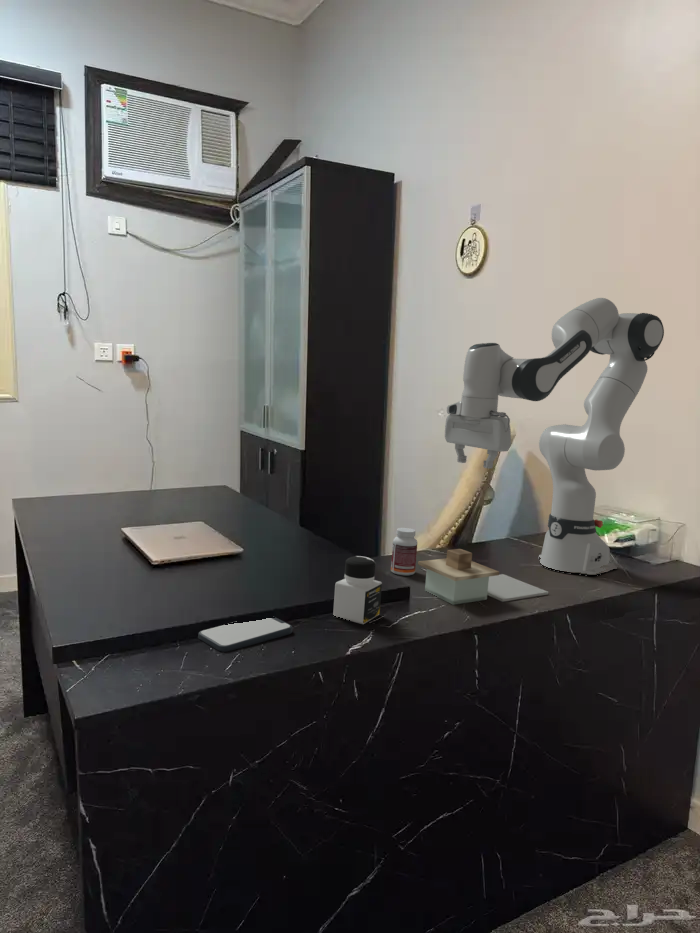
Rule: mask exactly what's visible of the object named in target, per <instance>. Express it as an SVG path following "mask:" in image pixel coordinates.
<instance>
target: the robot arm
mask: <svg viewBox="0 0 700 933" xmlns="http://www.w3.org/2000/svg"><path fill="white" fill-rule="evenodd" d="M664 334H665V328H664V324H663V322H662V320H661V318H660V317H658V315H655V314H652V313H647V312H640V313H636V312H635V313H634V312H632V313H630V312H629V313H627V312H626V313H619V310H618V308H617V306H616V304H615V303H614V302H613V301H611V300H610V299H608V298H606V297H605V298H604V297H596V298H594V299H592V300H591V299H590V300H588V301H586V302H584V303H581V304H579V305H578V306H577V307H573V309H572V310H570V311H568V312H566V313H565V314H563V316H561V317H560V318H559V319H558V320H557V321H556V322H555V323H553V325H552V329H551V340H552V343H553V346H554V350H552V351H551V352H549V353H548V355H546V356H543V357H538V358H514V357H513V356H511V355H509V354H508V353H507V352H505V351H504V350H503V349H502V348H501V346H500V344H499V343H497V342H486V343H483V342H482V343H476V344H474V345H471V346H470V347H469V348H468V350H467V352H466V355H465V360H464V365H463V373H462V374H463V375H462V376H463V377H462V380H463V391H462V394H461V400H459V401H457V402H455V403H451V404H450V405H447V407H446V414H448V415H447V417H446V420H445V425H444V438H445V441H446V443H449V444H454V450H455V452H456V455H457V459H456V460H457V462H458V463H461V464H465V463H467V458H468V455H465V451H464V450H465V449H466V447H472V448H475V449H476V448H478V449H482V450H487V452H486V454H487V457H486V459H485V460H483V464H482V466H483V468H485V469H493V468H494V466H493V465H494V461H495V460H496V458H497V456H498V452H500V453H501V452H508V451H509V450H510V448H511V445H512V442H511V441H512V436H511V435H512V434H511V433H512V431H511V424H510V423H511V418H509V416H508V414H507V413H506V412H505V411H500V412H499V411H498V406H499V397H503V398H504V397H505V398H511V399H512V398H513V399H520V400H521V399H523V400H527V401H531V402H540V401H543V400H544V399H546V398H547V397H548V396H550V395H551V394H552V392H553V390H554V389H555V387H556V386H557V385H558V383H559V381H561V379H563V377H564V376H566V375H567V374H568V373H569V372H570V371H571V370H572V369H573V368H574V367H576V366H577V365H578V364H579V363H580V362H581V361H582V360H583V359H584V358H585V357H586V356H587V355H588V354H589V353H590V352H592V353H594V354H597V355H602V356H603V355H609V361H608V363H607V366H606V367H605V368H604V370H603V371H602V373H601V374H600V376H599V377H598V378H597V380H596V381H595V383H594V385H593V386H592V388H591V390H590V391H589V393H588V394H587V396H586V397H585V398H584V402H583V407H584V410H585V413H586V414H587V419H586V421H585V423H584V424H583V425H582V426H580V425H573V424H572V425H571V424H566V423H565V424H558V425H550V426H548V427H546V428H545V429H544V430H543V431H542V433H541V434H540V437H539V442H538V448H539V451H540V453H541V455H542V456H543V457H544V459H545V460H546V462H547V465H548V466H549V470H550V475H551V479H552V500H551V510H550V511H551V512H550V514H549V515H548V519H547V527H548V530H547V531H546V532H545V535H544V541H543V546H542V549H541V553H540V554H539V555H538V558H539V557H540V558H541V559H540V560H539V561H540V563H541V564H542V565H544V566H546V567H548V568H552V569H555V570H560V571H567V572H581V573H587V574H596V573H599V572H601V571H604V570H606V569H605V568H604V569H603V568H600V567H601V566H603V565H606V564H608V563H609V561H610V556H611V554H610V553H611V552H610V551H611V550H610V547H609V545H608V544H607V543H606V542H605V541H604V540H603V539H602V538H601V537H600V535H598V534H597V528H600V529H601V528H602V527H603V526H604V522H603V520H599V519H594V516H595V515H594V514H595V505H596V497H597V493H596V489H595V487H594V485H592V484H591V483H590V481H589V479H588V477H587V474H586V470H590V471H595V472H596V471H610V470H613V469H616V468H617V467H618V466H619V465H620V464H621V462H622V461H623V459H624V457H625V450H626V449H625V444H624V441H623V439H622V437H621V434H620V433H621V426H622V422H623V420H624V418H625V416H626V414H627V412H628V411H629V409H630V407H631V405H632V404H633V402H634V401H635V399H636V397H637V396H638V394H639V392H640V390H641V389H642V386H643V384H644V381H645V378H646V377H647V374H648V373H647V372H648V365H647V362H646V361H648V360H649V359H651V358H652V357H653V356H654V354H655V353H656V351H657V350H658V349H659V348H660V346H661V344H662V341H663V339H664V336H665V335H664ZM542 565H541V566H542ZM546 567H545V568H546ZM548 568H547V569H548ZM555 570H554V571H555Z"/></svg>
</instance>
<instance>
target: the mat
mask: <svg viewBox="0 0 700 933" xmlns="http://www.w3.org/2000/svg"><path fill="white" fill-rule="evenodd" d="M546 595H549V591H548V590H544V589H543V588H540V587H538V586H535V585H532V584H529V583H527V582H525V581H521V580H520V579H517V578H514V577H511V576H510V575H507V574H503V573H501V574H500V573H499V575H497V576H489V582H488V592H487V596H489V597H491V598H493V599H496V600H498V601H500V602H504V603H505V602H509V601H515V600H521V599H529V598H534V597H541V596H546Z"/></svg>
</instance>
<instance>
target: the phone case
mask: <svg viewBox="0 0 700 933" xmlns="http://www.w3.org/2000/svg"><path fill="white" fill-rule="evenodd" d="M227 624H228V625H225V624H223V625H222V624H221V625H218V626H215V627H210V628H207V629H203V630H200V631H199V632H198V633H197V634H198V636H197V638H198V640H200V641H202V642H204V643H205V644H207V645H208V646H210V647H211V648H212V649H213V648H214V649H216V650H217V651H219V652H223V653H225V652H231V651H233V650H234V651H235V650H239V649H241V648H246V647H249V646H252V645H257V644H260V643H263V642H268V641H271V640H274V639H277V638H282V637H285V636H288V635H291V634H292V633H293V625H291V623H287V622H286V621H284V620H281V619H279V617H278V618H277V617H275V618H266V619H262V620H256V621H249V622H243V623H234V624H229V623H227Z"/></svg>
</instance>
